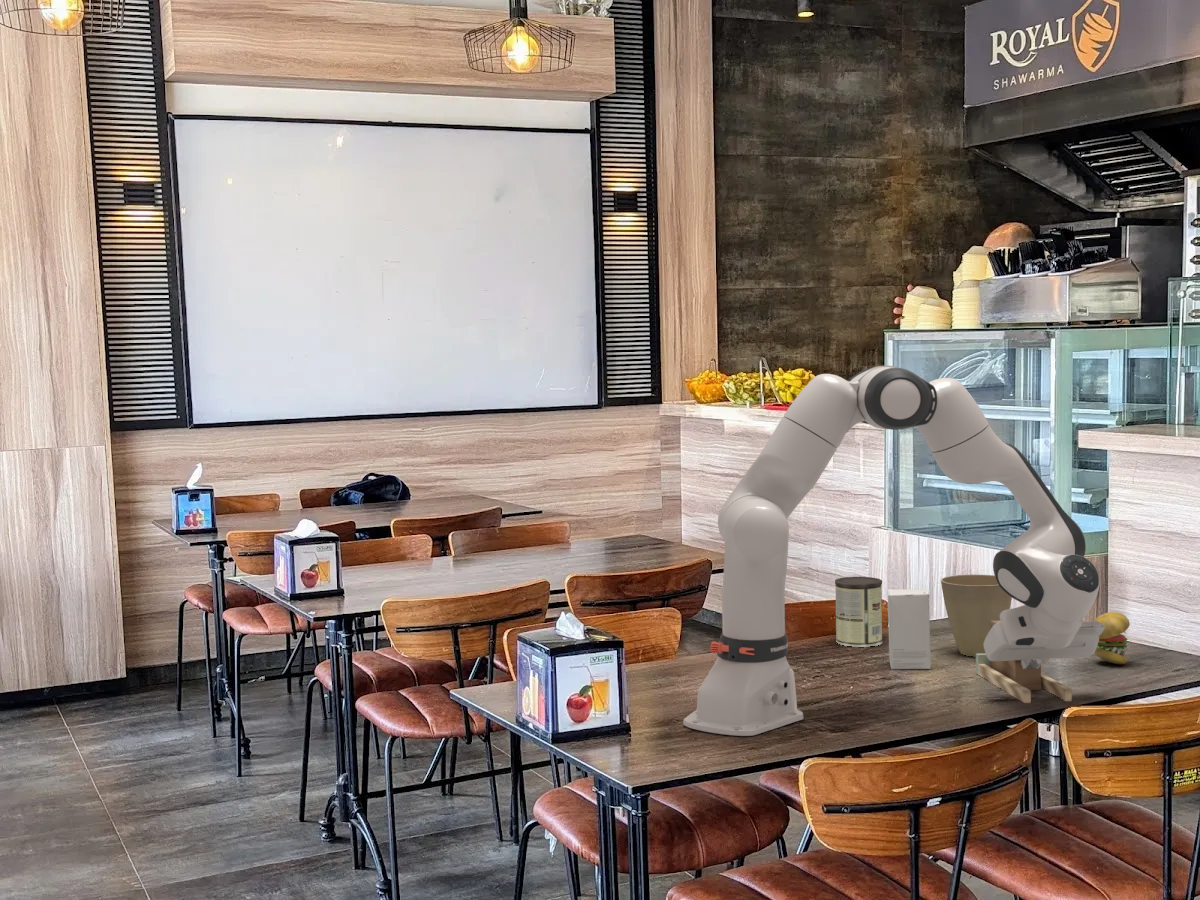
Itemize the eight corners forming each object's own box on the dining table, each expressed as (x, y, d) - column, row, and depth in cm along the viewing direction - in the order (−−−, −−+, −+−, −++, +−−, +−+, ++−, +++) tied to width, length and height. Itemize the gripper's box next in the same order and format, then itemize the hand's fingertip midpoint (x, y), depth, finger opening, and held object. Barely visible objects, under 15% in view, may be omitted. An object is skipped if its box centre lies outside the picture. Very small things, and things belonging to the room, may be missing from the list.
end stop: (1021, 673, 258) (1021, 653, 257) (978, 674, 257) (978, 655, 257) (1019, 671, 259) (1019, 651, 259) (975, 673, 258) (975, 653, 258)
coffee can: (841, 636, 296) (841, 575, 295) (886, 639, 291) (886, 577, 290) (830, 646, 286) (829, 582, 285) (877, 649, 282) (876, 584, 281)
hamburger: (1137, 667, 261) (1137, 607, 260) (1106, 669, 259) (1106, 610, 259) (1113, 658, 269) (1113, 601, 268) (1082, 661, 267) (1083, 603, 266)
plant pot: (984, 644, 285) (984, 572, 284) (1029, 657, 271) (1029, 582, 270) (926, 650, 280) (926, 577, 279) (968, 664, 266) (968, 587, 265)
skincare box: (929, 663, 268) (928, 588, 267) (931, 670, 261) (931, 593, 260) (887, 662, 269) (887, 587, 268) (888, 669, 263) (888, 593, 262)
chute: (1071, 701, 236) (1071, 689, 236) (1024, 703, 235) (1024, 691, 235) (1021, 673, 258) (1021, 662, 258) (978, 674, 257) (978, 663, 257)
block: (1040, 689, 244) (1041, 631, 244) (1015, 690, 244) (1015, 632, 243) (1014, 674, 256) (1014, 619, 256) (990, 675, 256) (990, 620, 255)
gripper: (1101, 607, 236) (1077, 649, 246) (992, 611, 234) (972, 653, 244) (1113, 636, 232) (1088, 677, 242) (1002, 640, 230) (981, 682, 240)
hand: (1029, 665), depth 243 cm, fingers closed, pressing on block
